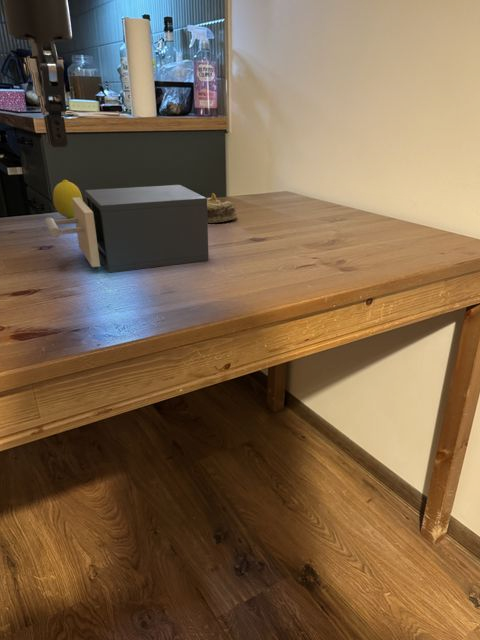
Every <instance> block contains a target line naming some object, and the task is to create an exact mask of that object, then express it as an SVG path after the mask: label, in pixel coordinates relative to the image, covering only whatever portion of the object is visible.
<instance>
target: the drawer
mask: <svg viewBox="0 0 480 640" xmlns="http://www.w3.org/2000/svg"><path fill="white" fill-rule="evenodd" d="M72 202H73V209H74V216H75V217H74V219H68V218H63V219H54V218H52V217H46V218H45V219H44V225H45V226H46V228H47V230H48V232H49V235H50V236H51V237H52V238H59V237H60V236H61V235H63V234H76V235H77V241H78V248H79V249H80V251H81V252H82V254H83V255H84V257H85V258H86V260H87V261H88V263H89V265H90V266H91V267H92V268H97V267H101V261H100V259H99V252H98V248H99V249H100V250H101V252H102V253H103V254H104V256H105V257H106V253H105V245H104V237H103V229H102V221H101V213H100V210H99V209H98V208H97V207H96V206H95V205H94V204H93V203H92V202H91V201H90V203H91V209H90V208H89V207H88V206H87V203H86V202H85V201H84V200H83V201H82V200H81V199H80V198H79V197H78V198H72ZM68 224H69V225H71V224H75V226H76V227H67V228H59V227H58V226H59V225H68Z"/></svg>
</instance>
